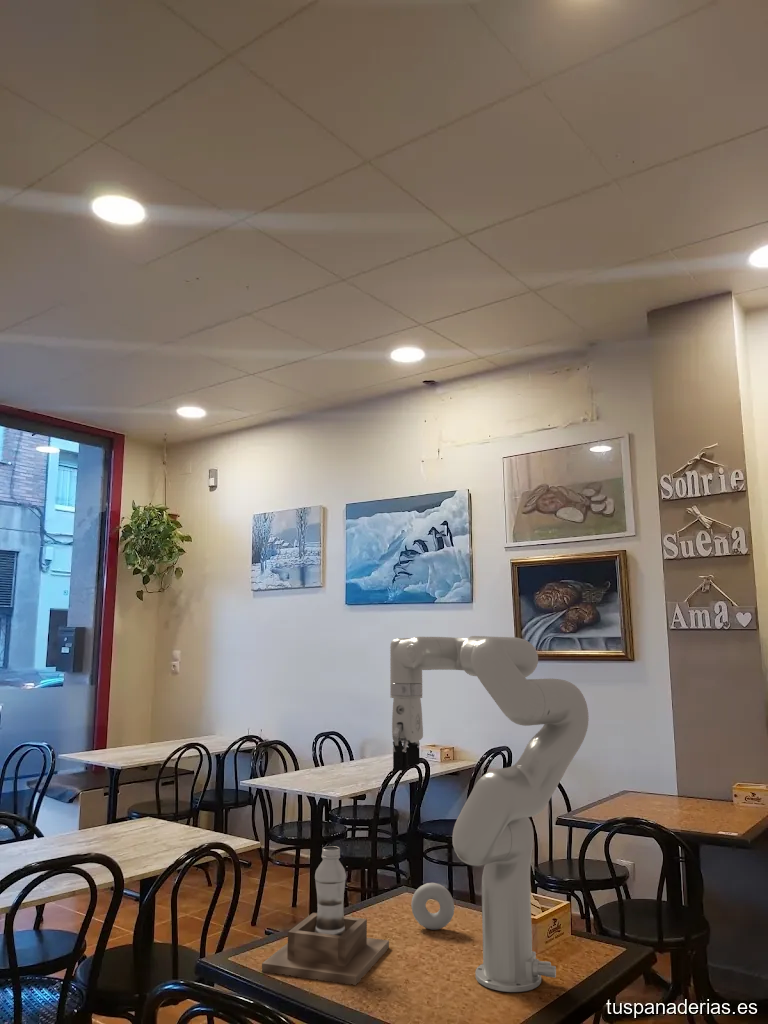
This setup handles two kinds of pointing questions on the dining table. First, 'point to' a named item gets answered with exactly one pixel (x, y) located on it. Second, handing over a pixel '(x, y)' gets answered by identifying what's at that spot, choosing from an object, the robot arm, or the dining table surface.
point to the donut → (423, 915)
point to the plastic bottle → (330, 893)
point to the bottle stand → (327, 952)
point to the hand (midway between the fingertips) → (406, 767)
